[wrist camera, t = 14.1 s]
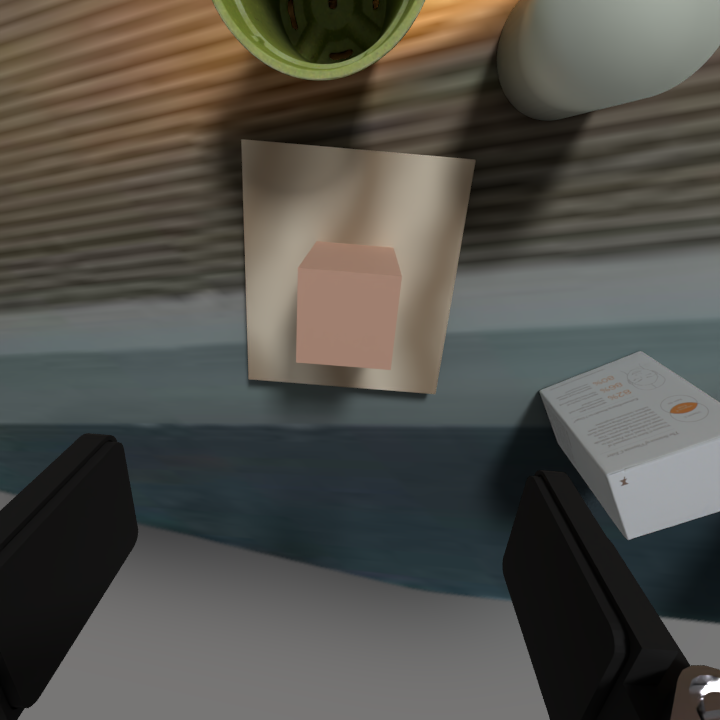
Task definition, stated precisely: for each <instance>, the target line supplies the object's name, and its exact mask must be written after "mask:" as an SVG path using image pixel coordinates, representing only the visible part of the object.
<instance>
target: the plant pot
mask: <svg viewBox="0 0 720 720" xmlns="http://www.w3.org/2000/svg"><path fill="white" fill-rule="evenodd" d="M212 1H213V4H214V6H215V8H216V9H217V11H218V13H219V15H220V16H221V18H222V20H223V21H224V23H225V24H226V26H227V27H228V29H229V30H230V31H231V33H232V34H233V35H234V36H235V37H236V38H237V40H238V41H239V42H240V43H241V44H242V45H243V46H244V47H245V48H246V49H247V50H248V51H249V52H250V53H251V54H253V55H254V56H255V57H256V58H258V59H259V60H260V61H262V62H263V63H264V64H266V65H268V66H269V67H271V68H273V69H275V70H277V71H279V72H281V73H284V74H286V75H289V76H292V77H296V78H300V79H306V80H316V81H321V80H334V79H339V78H344V77H347V76H349V75H352V74H355V73H357V72H359V71H361V70H364V69H365V68H367V67H369V66H370V65H372V64H374V63H375V62H377V61H378V60H380V59H381V58H382V57H383V56H385V55H386V54H387V53H388V52H389V51H391V50H392V49H393V48H394V47H395V46H396V45H397V44H398V42H399V41H400V40H401V39H402V38H403V37H404V35H405V34H406V33H407V31H408V30H409V29H410V27H411V26H412V24H413V22H414V21H415V19H416V18H417V16H418V14H419V12H420V10H421V8H422V6H423V4H424V2H425V0H379V5H378V8H377V9H375V10H374V9H373V0H336V1H337V6H336V8H335V9H331V8H329V3H328V1H329V0H292V1H293V4H294V13H295V18H296V23H297V25H298V28H297V30H296V29H294V28H293V27H292V24H291V19H290V16H289V14H288V1H289V0H212ZM348 49H351V50H353V53H352V55H351V56H350V57H349V58H346V59H340V60H332V59H331V58H330V57H329V55H330V53H340V52H344V51H347V50H348Z"/></svg>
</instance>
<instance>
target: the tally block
mask: <svg viewBox="0 0 720 720" xmlns="http://www.w3.org/2000/svg"><path fill="white" fill-rule="evenodd" d="M401 281H402V275H401V271H400V268H399V264H398V261H397V258H396V254H395V251H394V248H393V247H381V246H369V245H357V244H345V243H334V242H322V241H316V243H315V244H314V246H313V247H312V248H311V250H310V251H309V253H308V254H307V255H306V257H305V258H304V260H303V261H302V263H301V264H300V265H299V267H298V287H297V339H296V362H297V363H309V364H322V365H334V366H347V367H359V368H371V369H384V370H391V364H392V355H393V347H394V339H395V330H396V322H397V314H398V305H399V297H400V289H401Z"/></svg>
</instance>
